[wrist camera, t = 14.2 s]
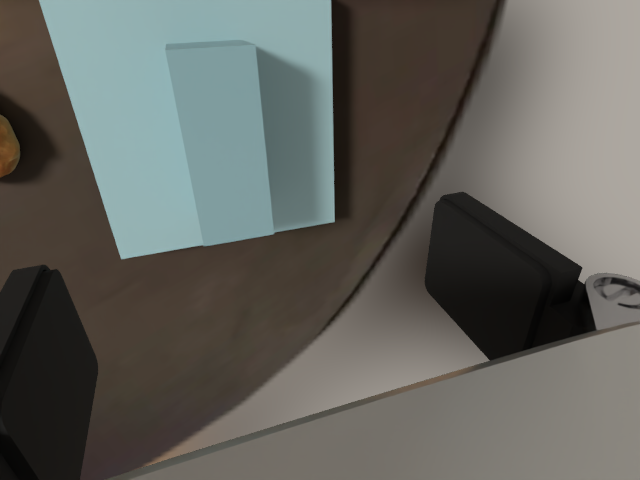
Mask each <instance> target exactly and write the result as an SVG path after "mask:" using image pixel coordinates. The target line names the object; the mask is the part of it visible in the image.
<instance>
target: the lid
mask: <svg viewBox="0 0 640 480" xmlns="http://www.w3.org/2000/svg"><path fill="white" fill-rule="evenodd" d="M39 2H40V5H41V8H42V11H43V14H44V17H45V21H46V24H47V27H48V30H49V33H50V36H51V39H52V43H53V46H54V49H55V52H56V55H57V58H58V61H59V65H60V68H61V71H62V74H63V77H64V80H65V84H66V87H67V90H68V93H69V96H70V99H71V102H72V106H73V109H74V112H75V115H76V118H77V121H78V125H79V128H80V131H81V134H82V137H83V140H84V143H85V147H86V150H87V153H88V156H89V159H90V162H91V166H92V169H93V172H94V175H95V178H96V181H97V184H98V188H99V191H100V194H101V197H102V200H103V203H104V206H105V210H106V213H107V216H108V219H109V222H110V225H111V229H112V232H113V235H114V238H115V241H116V244H117V247H118V251H119V254H120V257H121V259H125V258H131V257H136V256H142V255H148V254H154V253H159V252H165V251H171V250H176V249H182V248H188V247H194V246H199V245H204V246H210V245H215V244H221V243H227V242H232V241H238V240H244V239H250V238H255V237H261V236H267V235H272V234H274V232H280V231H285V230H291V229H297V228H302V227H308V226H314V225H320V224H325V223H331V222H335V209H334V148H333V86H332V25H331V0H39Z"/></svg>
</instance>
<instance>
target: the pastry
mask: <svg viewBox="0 0 640 480" xmlns="http://www.w3.org/2000/svg"><path fill="white" fill-rule="evenodd" d="M19 159H20V145H19V142H18V140H17V138H16V136H15V134H14V132H13V130H12V127H11V125H10V123H9V121H8V120H7V119H6V118H5V117H4V116H2V115H0V177H2V176H4V175H7V174H10V173H11V172H12V171H13V170H14V169H15V168H16V166H17V164H18V162H19Z"/></svg>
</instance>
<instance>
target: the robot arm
mask: <svg viewBox="0 0 640 480" xmlns="http://www.w3.org/2000/svg"><path fill="white" fill-rule="evenodd" d="M581 270H582V267H581V266H579V265H578V264H576V263H575V262H573V261H572V260H570V259H568V258H567V257H565V256H564V255H562V254H561V253H559V252H558V251H556V250H554V249H553V248H551V247H549V246H548V245H546V244H545V243H543V242H542V241H540V240H539V239H537V238H535V237H534V236H532V235H531V234H529V233H528V232H526V231H525V230H523V229H521V228H520V227H518V226H517V225H515V224H514V223H512V222H510V221H509V220H507V219H506V218H504V217H503V216H501V215H499V214H498V213H496V212H495V211H493V210H492V209H490V208H489V207H487V206H485V205H484V204H482V203H480V202H479V201H478V200H476V199H474V198H473V197H471V196H470V195H468V194H467V193H464V192H459V193H454V194H447V195H443V196H442V197H441V198H440V200H439V201H438V202H437V203H436V204H435V208H434V216H433V223H432V231H431V238H430V246H429V253H428V260H427V268H426V275H425V286H426V289H427V291H428V293H429V294H430V295H431V296H432V297H433V298H434V299H435V300H436V301H437V303H438V304H439V305H440V306H441V307H442V308H443V309H444V310H445V311H446V312H447V314H448V315H449V316H450V317H451V318H452V319H453V320H454V321H455V322H456V323H457V325H458V326H459V327H460V328H461V329H462V330H463V331H464V332H465V334H466V335H468V337H469V338H470V339H471V340H472V341H473V342H474V343H475V345H476V346H477V347H478V348H479V349H480V350H481V351H482V352H483V353H484V354H485V355H486V356H487V358H488V359H489V360H490V361H488V362H484V363H481V364H477V365H474V366H471V367H468V368H464V369H461V370H457V371H454V372H451V373H447V374H444V375H441V376H438V377H434V378H431V379H427V380H424V381H421V382H417V383H414V384H411V385H408V386H404V387H401V388H398V389H395V390H391V391H388V392H384V393H382V394H378V395H375V396H371V397H368V398H365V399H362V400H358V401H355V402H352V403H348V404H345V405H342V406H339V407H335V408H332V409H329V410H325V411H322V412H319V413H316V414H313V415H309V416H306V417H303V418H299V419H296V420H293V421H290V422H287V423H283V424H280V425H277V426H274V427H270V428H267V429H264V430H261V431H257V432H254V433H251V434H248V435H245V436H241V437H239V438H235V439H232V440H228V441H225V442H222V443H219V444H216V445H212V446H209V447H206V448H203V449H199V450H196V451H193V452H190V453H187V454H183V455H180V456H177V457H174V458H171V459H168V460H164V461H161V462H158V463H155V464H152V465H149V466H146V467H143V468H140V469H137V470H134V471H131V472H128V473H125V474H121V475H118V476H115V477H112V478H109V479H106V480H640V281H638V280H636V279H633V278H630V277H627V276H623V275H618V274H611V273H599V274H594V275H591V276H589V277H588V279H586V281H585V284H583V283H582V282H580V281H579V280H578V278H579V275H580V273H581ZM97 375H98V363H97V359H96V356H95V353H94V351H93V349H92V346H91V344H90V342H89V339H88V337H87V334H86V332H85V330H84V327H83V325H82V323H81V320H80V318H79V316H78V313H77V311H76V308H75V306H74V304H73V301H72V299H71V297H70V294H69V292H68V290H67V287H66V285H65V282H64V280H63V278H62V275H61V273H60V272H59V271H58V270H57V269H55V270H50V269H49V268H48V267H47V266H46V265H40V266H34V267H28V268H22V269H17V270H13V271H12V272H11V274H10V276H9V277H8V279H7V281H6V283H5V285H4V287H3V288H2V290H1V292H0V480H80V475H81V469H82V463H83V457H84V452H85V446H86V440H87V434H88V428H89V422H90V416H91V411H92V405H93V399H94V393H95V387H96V381H97Z"/></svg>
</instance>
